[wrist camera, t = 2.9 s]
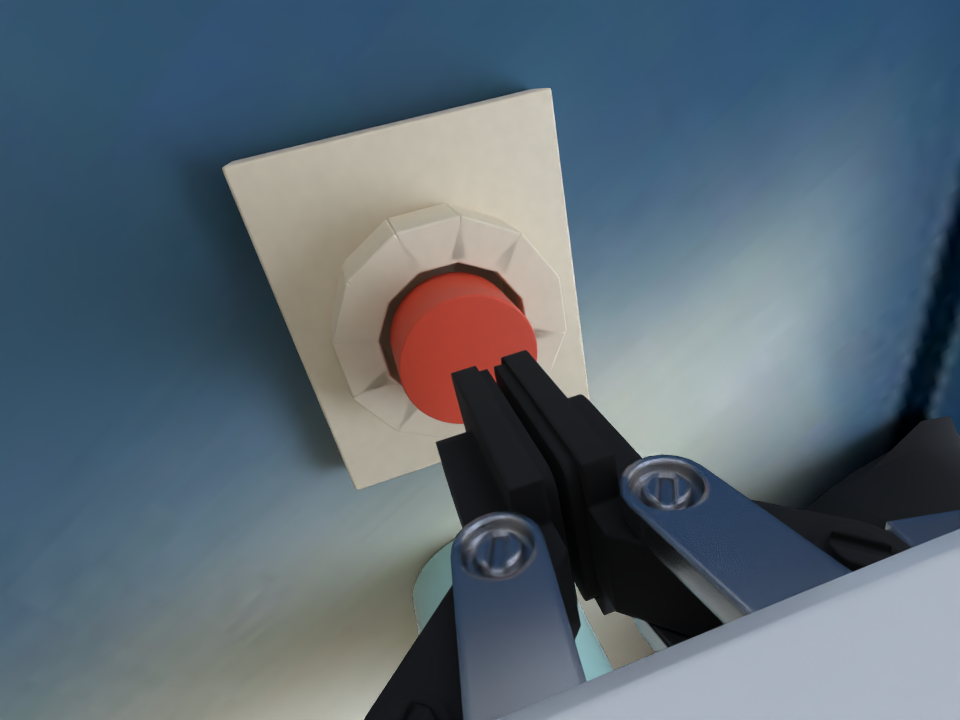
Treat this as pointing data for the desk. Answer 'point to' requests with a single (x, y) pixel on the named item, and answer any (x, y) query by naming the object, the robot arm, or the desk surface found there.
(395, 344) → the power button
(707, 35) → the desk surface
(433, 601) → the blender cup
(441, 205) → the cream base plate
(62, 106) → the desk surface
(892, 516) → the penguin
